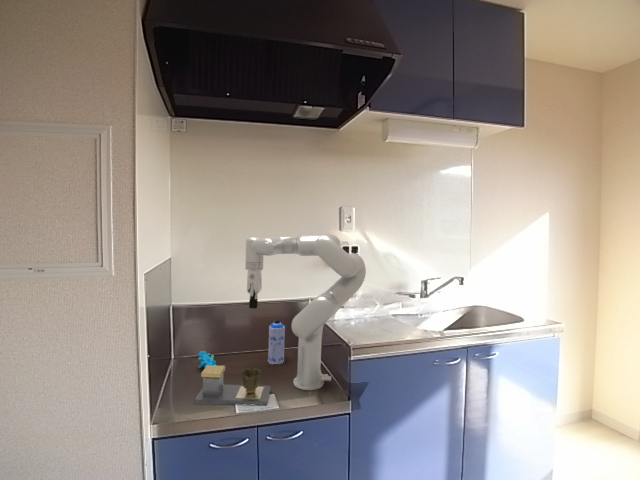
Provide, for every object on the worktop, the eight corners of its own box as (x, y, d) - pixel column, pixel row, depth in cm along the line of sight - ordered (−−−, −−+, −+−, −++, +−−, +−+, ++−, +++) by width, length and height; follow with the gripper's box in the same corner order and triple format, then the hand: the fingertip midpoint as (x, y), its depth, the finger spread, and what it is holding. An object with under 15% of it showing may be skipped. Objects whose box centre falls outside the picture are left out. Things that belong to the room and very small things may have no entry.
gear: (210, 370, 150) (196, 352, 152) (200, 379, 151) (186, 361, 152) (221, 364, 161) (208, 347, 163) (212, 372, 161) (199, 355, 163)
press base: (270, 389, 139) (271, 369, 138) (266, 405, 127) (266, 383, 126) (204, 387, 139) (205, 367, 138) (194, 403, 127) (194, 381, 126)
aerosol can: (287, 359, 169) (288, 319, 168) (279, 365, 162) (280, 323, 161) (273, 356, 172) (274, 316, 171) (264, 362, 165) (265, 320, 164)
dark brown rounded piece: (262, 387, 137) (262, 367, 136) (259, 397, 129) (259, 376, 129) (242, 387, 136) (243, 367, 136) (238, 396, 129) (239, 375, 129)
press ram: (224, 385, 136) (225, 365, 136) (219, 394, 129) (220, 373, 129) (206, 385, 136) (207, 365, 136) (200, 394, 129) (201, 373, 129)
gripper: (260, 268, 143) (259, 312, 144) (265, 264, 158) (264, 304, 159) (241, 267, 143) (240, 312, 144) (248, 263, 158) (248, 303, 159)
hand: (253, 307), depth 151 cm, fingers closed
